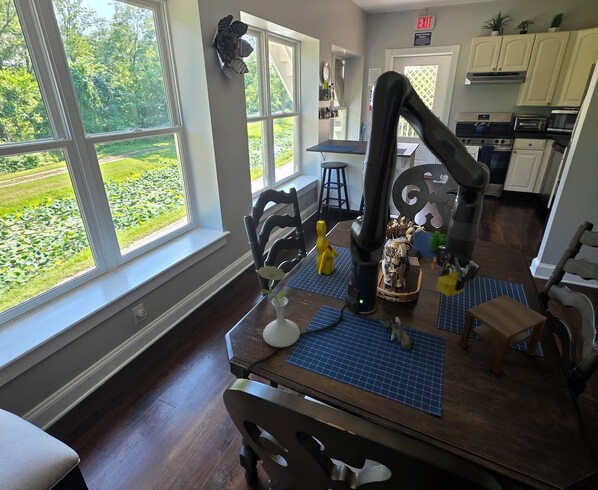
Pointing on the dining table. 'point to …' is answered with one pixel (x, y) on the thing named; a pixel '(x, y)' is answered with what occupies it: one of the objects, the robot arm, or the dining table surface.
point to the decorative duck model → (440, 267)
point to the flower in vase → (278, 314)
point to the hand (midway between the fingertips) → (451, 284)
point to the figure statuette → (324, 251)
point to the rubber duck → (448, 284)
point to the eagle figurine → (399, 333)
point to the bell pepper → (437, 241)
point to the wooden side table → (503, 327)
